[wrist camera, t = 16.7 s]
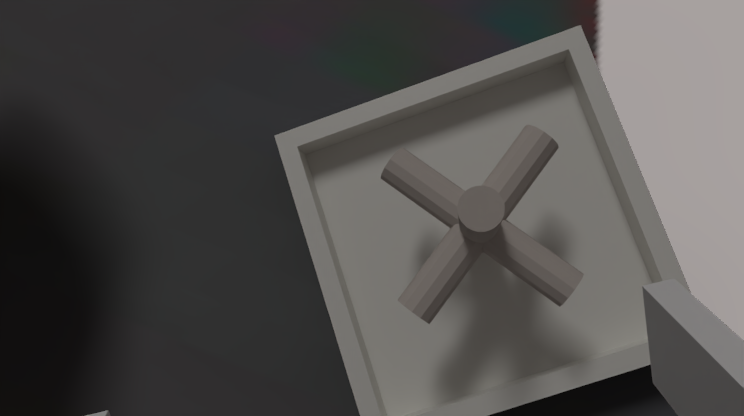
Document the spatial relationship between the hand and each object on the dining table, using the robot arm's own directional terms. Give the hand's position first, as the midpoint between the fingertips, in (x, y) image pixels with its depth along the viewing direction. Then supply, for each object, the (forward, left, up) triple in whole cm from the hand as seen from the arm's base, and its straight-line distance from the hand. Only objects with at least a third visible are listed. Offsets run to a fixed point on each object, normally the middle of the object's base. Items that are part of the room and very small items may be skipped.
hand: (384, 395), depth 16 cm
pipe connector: (+4, +5, -20) cm, 21 cm away
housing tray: (+4, +5, -20) cm, 21 cm away
